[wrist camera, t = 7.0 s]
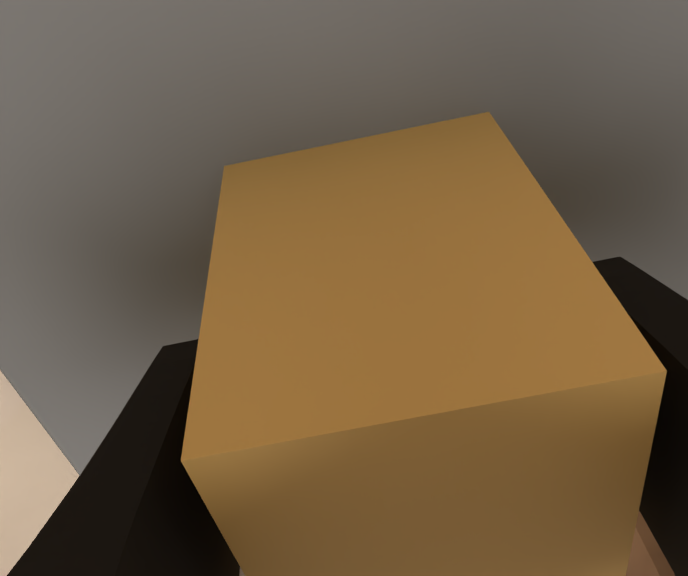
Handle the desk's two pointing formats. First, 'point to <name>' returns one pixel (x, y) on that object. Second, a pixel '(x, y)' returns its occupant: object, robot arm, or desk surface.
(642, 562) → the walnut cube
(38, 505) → the desk surface
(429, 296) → the ochre block
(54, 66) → the slate mat
